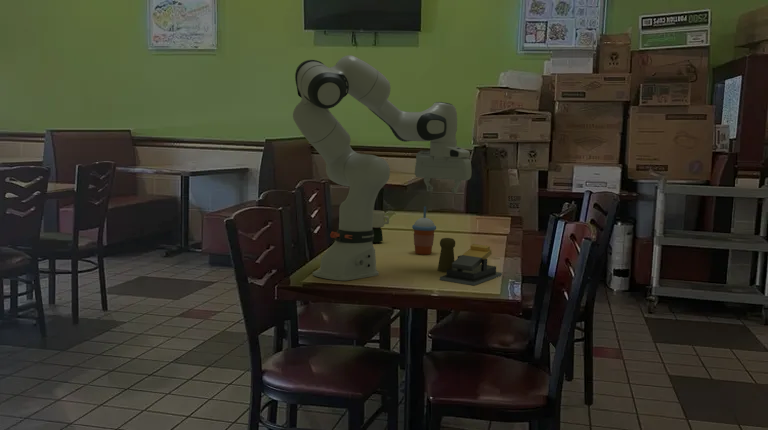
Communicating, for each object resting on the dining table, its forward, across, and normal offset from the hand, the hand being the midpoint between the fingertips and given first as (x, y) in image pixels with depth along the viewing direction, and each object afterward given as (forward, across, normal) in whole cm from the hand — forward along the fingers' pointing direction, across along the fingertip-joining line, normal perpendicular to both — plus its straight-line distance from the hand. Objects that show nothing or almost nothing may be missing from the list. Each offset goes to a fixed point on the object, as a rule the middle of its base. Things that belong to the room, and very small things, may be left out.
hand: (441, 192), depth 238 cm
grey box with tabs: (+26, +16, -8) cm, 31 cm away
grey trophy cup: (+26, -46, +29) cm, 61 cm away
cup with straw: (+26, -19, +21) cm, 38 cm away
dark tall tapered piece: (+26, +4, -3) cm, 27 cm away
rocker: (+20, +16, -8) cm, 27 cm away
